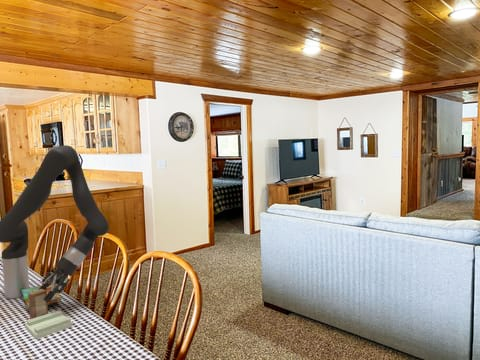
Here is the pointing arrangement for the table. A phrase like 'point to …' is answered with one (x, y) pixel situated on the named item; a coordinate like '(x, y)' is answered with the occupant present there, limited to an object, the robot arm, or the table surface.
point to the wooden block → (37, 303)
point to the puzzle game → (29, 290)
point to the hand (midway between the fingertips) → (41, 298)
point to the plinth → (48, 324)
